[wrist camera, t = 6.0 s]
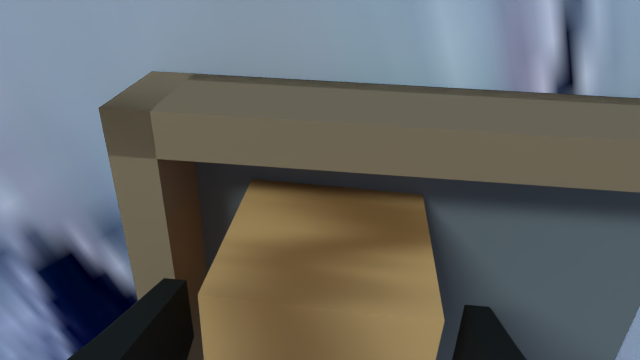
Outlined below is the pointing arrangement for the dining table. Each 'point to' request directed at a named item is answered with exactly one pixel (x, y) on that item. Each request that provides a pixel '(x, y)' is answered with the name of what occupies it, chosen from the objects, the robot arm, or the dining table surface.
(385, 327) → the block
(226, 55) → the dining table surface
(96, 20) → the dining table surface
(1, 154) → the dining table surface
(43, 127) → the dining table surface
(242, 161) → the arena
